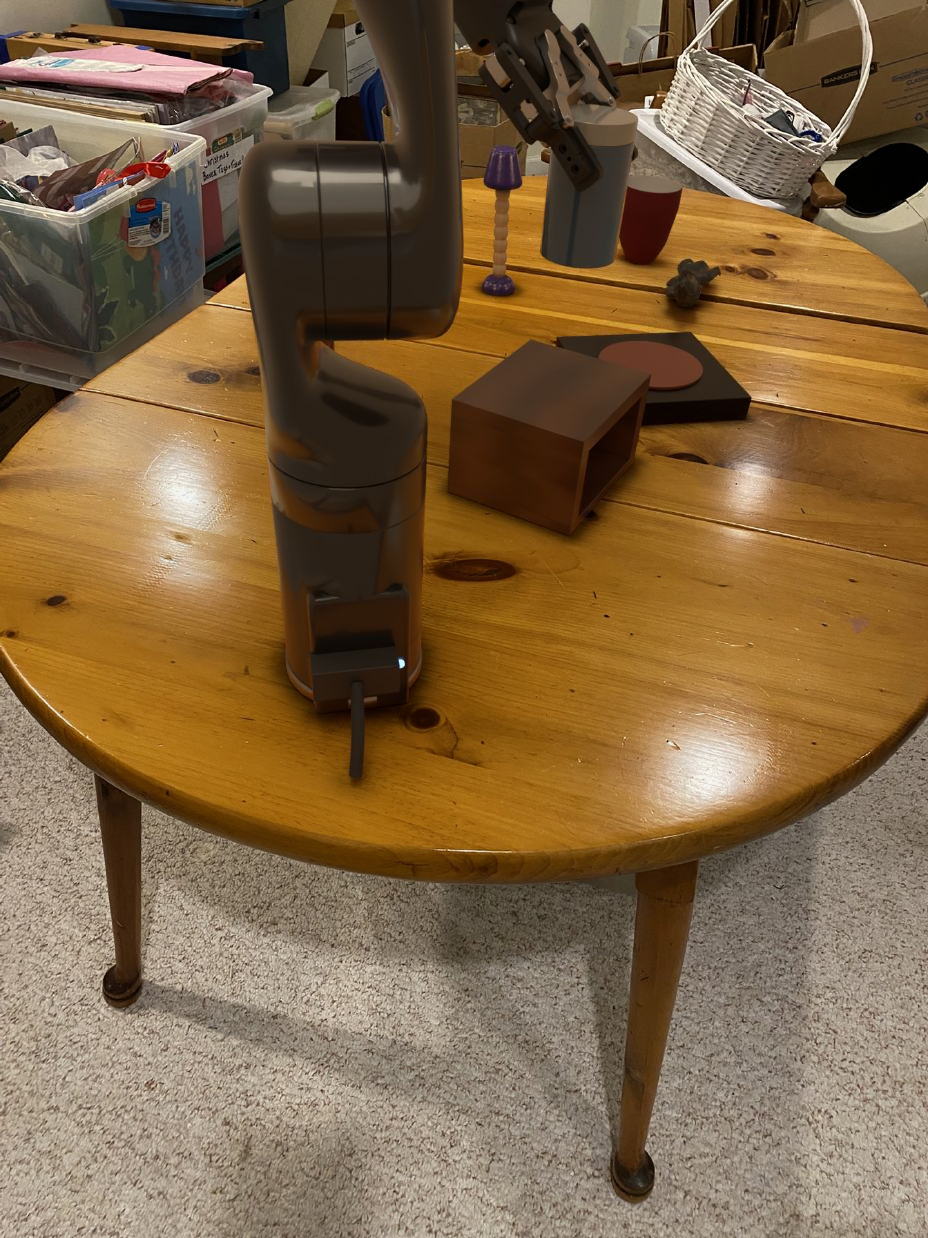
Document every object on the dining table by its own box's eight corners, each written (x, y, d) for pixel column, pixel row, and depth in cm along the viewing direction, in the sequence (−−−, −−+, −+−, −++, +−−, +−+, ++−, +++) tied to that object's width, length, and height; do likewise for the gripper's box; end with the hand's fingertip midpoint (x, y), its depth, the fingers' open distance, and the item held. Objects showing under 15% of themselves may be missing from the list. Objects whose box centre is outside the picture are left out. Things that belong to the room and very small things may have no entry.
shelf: (633, 461, 87) (651, 373, 81) (569, 536, 78) (584, 441, 72) (521, 425, 91) (530, 338, 86) (446, 491, 82) (451, 398, 76)
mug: (587, 260, 128) (597, 183, 121) (600, 242, 134) (611, 168, 127) (662, 273, 125) (677, 196, 119) (672, 255, 131) (687, 180, 125)
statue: (672, 293, 127) (656, 319, 110) (675, 251, 124) (658, 270, 108) (720, 293, 125) (710, 319, 108) (723, 250, 123) (714, 270, 106)
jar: (626, 268, 71) (650, 124, 65) (551, 269, 70) (569, 123, 63) (601, 240, 76) (622, 104, 69) (531, 242, 74) (545, 103, 68)
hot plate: (745, 419, 95) (752, 394, 93) (598, 428, 92) (603, 402, 90) (686, 351, 107) (691, 328, 105) (553, 357, 104) (556, 333, 102)
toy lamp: (493, 299, 115) (503, 155, 104) (469, 287, 118) (477, 145, 107) (521, 291, 118) (534, 149, 107) (497, 279, 120) (508, 140, 110)
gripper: (466, -82, 57) (612, 162, 61) (564, -88, 67) (685, 123, 70) (393, 8, 62) (531, 228, 66) (494, -10, 72) (609, 183, 76)
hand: (610, 173), depth 68 cm, fingers closed on jar, 6 cm apart
